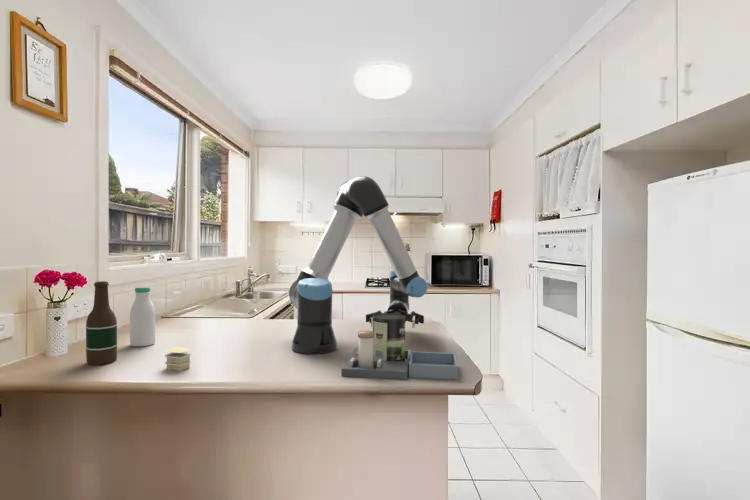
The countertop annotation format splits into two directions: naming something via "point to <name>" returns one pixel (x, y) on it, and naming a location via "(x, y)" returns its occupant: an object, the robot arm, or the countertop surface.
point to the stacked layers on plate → (178, 358)
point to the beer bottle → (101, 329)
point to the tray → (433, 365)
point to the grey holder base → (383, 368)
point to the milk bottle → (142, 319)
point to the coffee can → (389, 337)
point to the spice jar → (365, 349)
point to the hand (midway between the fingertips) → (392, 323)
